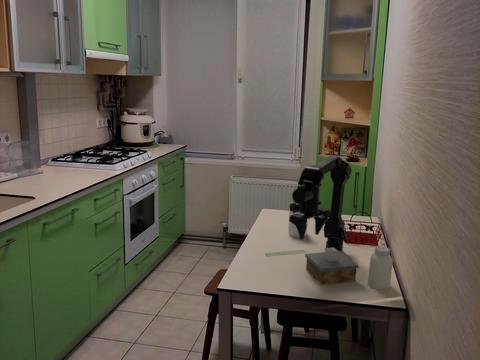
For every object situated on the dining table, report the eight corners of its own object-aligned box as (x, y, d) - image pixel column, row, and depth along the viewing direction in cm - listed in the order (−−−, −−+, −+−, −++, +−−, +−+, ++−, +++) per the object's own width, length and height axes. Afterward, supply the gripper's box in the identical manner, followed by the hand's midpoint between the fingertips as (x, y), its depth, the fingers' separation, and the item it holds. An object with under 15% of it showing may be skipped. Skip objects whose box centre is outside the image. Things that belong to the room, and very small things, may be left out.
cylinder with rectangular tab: (309, 233, 231) (310, 209, 229) (301, 238, 224) (303, 214, 221) (293, 229, 236) (294, 206, 233) (285, 234, 229) (286, 210, 226)
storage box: (337, 268, 190) (338, 254, 188) (355, 282, 176) (356, 267, 175) (306, 271, 186) (306, 257, 185) (321, 286, 173) (322, 271, 171)
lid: (339, 253, 189) (340, 241, 188) (358, 268, 175) (359, 255, 174) (305, 256, 185) (305, 244, 184) (321, 271, 171) (322, 258, 170)
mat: (303, 250, 208) (303, 249, 208) (321, 266, 191) (321, 265, 191) (265, 253, 203) (265, 252, 203) (279, 270, 186) (279, 269, 186)
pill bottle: (386, 293, 168) (390, 254, 165) (364, 287, 172) (368, 249, 169) (392, 285, 175) (396, 247, 172) (371, 280, 179) (374, 243, 176)
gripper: (311, 191, 194) (309, 227, 197) (279, 198, 182) (278, 236, 185) (332, 196, 185) (330, 234, 189) (301, 204, 173) (299, 244, 177)
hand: (309, 236), depth 185 cm, fingers open, 9 cm apart
